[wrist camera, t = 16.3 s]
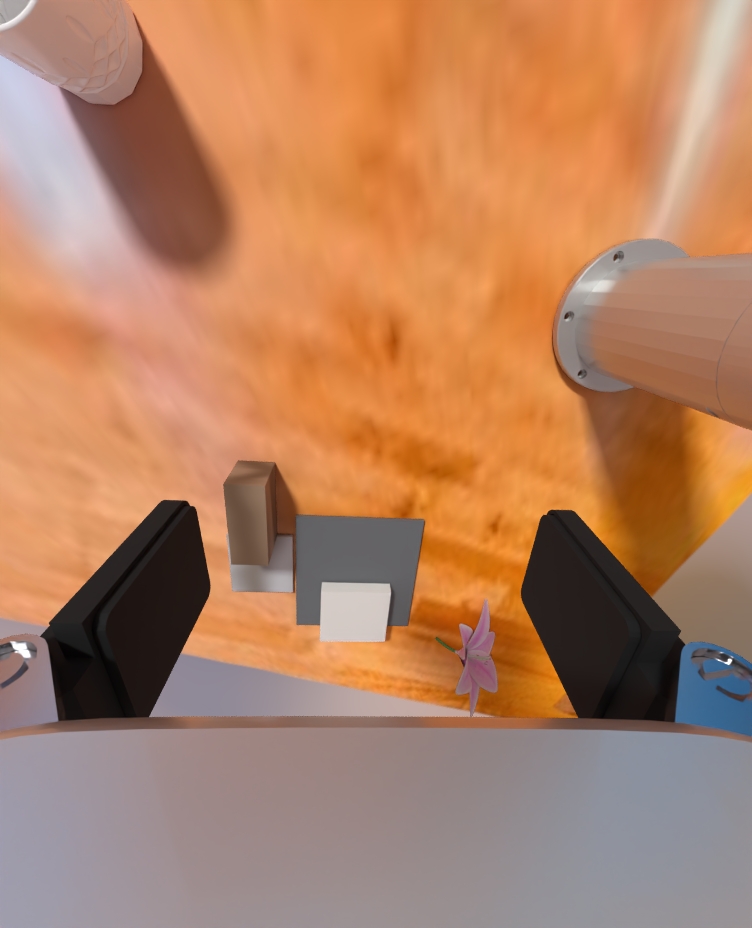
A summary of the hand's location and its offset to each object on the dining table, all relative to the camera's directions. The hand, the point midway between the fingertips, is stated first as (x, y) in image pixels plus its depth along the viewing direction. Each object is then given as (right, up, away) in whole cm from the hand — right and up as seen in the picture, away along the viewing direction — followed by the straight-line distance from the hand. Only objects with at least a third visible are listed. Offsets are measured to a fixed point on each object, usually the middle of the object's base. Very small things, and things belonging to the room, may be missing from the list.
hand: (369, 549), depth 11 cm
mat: (-2, -11, +35) cm, 37 cm away
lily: (+12, -19, +40) cm, 46 cm away
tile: (-2, -12, +34) cm, 36 cm away
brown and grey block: (-12, -5, +32) cm, 34 cm away
